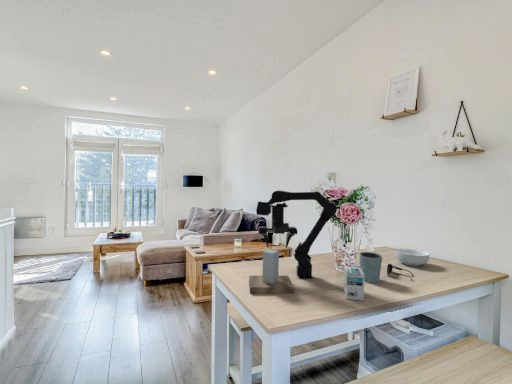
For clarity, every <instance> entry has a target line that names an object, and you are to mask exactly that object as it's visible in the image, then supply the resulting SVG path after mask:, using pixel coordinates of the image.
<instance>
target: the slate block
mask: <svg viewBox="0 0 512 384" xmlns="http://www.w3.org/2000/svg"><path fill="white" fill-rule="evenodd" d="M279 259H280V251H279V250H274V249H267V250H263V251H262V276H263V282H266V283H270V284H274V283H275V282H277V281H278V276H279V267H280V266H279V265H280V263H279Z"/></svg>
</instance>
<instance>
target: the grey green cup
mask: <svg viewBox="0 0 512 384" xmlns="http://www.w3.org/2000/svg"><path fill="white" fill-rule="evenodd" d="M358 255H359V266H360V267H361V269H362V271H363V272H364V283H370V284H377V283H379V282H380V277H381V270H382V262H383V255H381V254H379V253H377V252H372V251H371V252H369V251H362V252H360V253H359V254H358Z"/></svg>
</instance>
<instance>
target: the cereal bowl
mask: <svg viewBox="0 0 512 384" xmlns="http://www.w3.org/2000/svg"><path fill="white" fill-rule="evenodd" d="M394 254H395V258H396V260H398V261H399V262H401V263H403V264H404V265H407V266H411V267H420V266H421V265H425V264H427V263H428V262H429V260H430V253H429V252H427V251H424V250H423V251H422V250H419V249H413V248H398V249H397V248H396V249H395V250H394Z"/></svg>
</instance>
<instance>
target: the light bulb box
mask: <svg viewBox="0 0 512 384" xmlns="http://www.w3.org/2000/svg"><path fill="white" fill-rule="evenodd" d="M343 269H344V275H343V276H344V278H343V291H344V295H345V298H346V300H351V301H352V300H354V301H364V300H365V282H364V272H363V271H362V269H361V267H360V265H351V264H349V265H348V264H344V267H343Z"/></svg>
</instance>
